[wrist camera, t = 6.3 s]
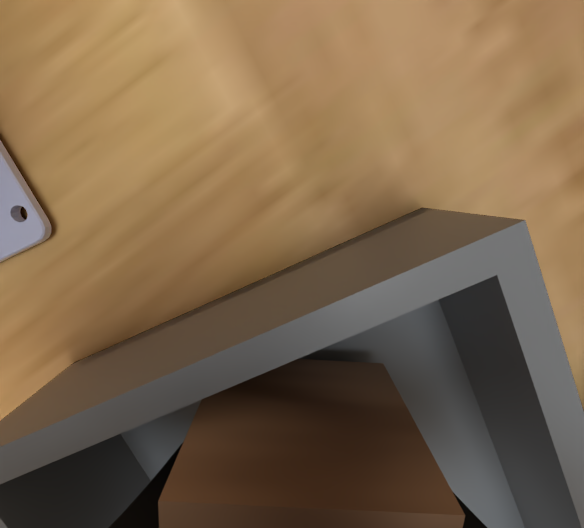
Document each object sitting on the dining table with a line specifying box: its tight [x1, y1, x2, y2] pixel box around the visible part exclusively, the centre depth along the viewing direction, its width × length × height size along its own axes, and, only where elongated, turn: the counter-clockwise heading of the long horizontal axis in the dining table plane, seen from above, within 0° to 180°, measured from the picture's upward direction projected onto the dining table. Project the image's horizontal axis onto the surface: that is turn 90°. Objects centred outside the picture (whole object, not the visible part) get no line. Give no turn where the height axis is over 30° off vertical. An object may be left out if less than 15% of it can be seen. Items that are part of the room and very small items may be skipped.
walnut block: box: [158, 359, 465, 528], centre depth 8 cm, size 5×5×5 cm
